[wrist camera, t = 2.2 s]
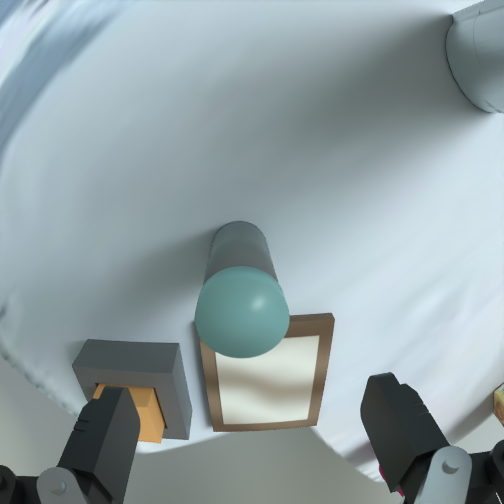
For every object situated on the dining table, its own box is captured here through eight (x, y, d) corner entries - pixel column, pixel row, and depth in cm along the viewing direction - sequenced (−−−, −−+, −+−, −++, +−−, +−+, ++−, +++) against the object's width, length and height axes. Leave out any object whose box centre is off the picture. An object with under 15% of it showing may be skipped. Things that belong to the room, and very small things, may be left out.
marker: (209, 220, 22) (190, 280, 13) (268, 219, 22) (291, 277, 13) (212, 274, 24) (199, 359, 14) (267, 273, 24) (287, 356, 14)
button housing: (88, 339, 25) (71, 365, 21) (179, 343, 26) (171, 373, 22) (112, 404, 28) (103, 431, 25) (192, 410, 29) (188, 439, 25)
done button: (105, 370, 24) (91, 401, 20) (156, 374, 24) (147, 407, 21) (119, 407, 26) (109, 436, 22) (167, 411, 26) (160, 443, 22)
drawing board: (198, 318, 25) (197, 326, 24) (331, 313, 25) (335, 319, 24) (213, 424, 30) (213, 432, 29) (314, 418, 30) (316, 426, 29)
